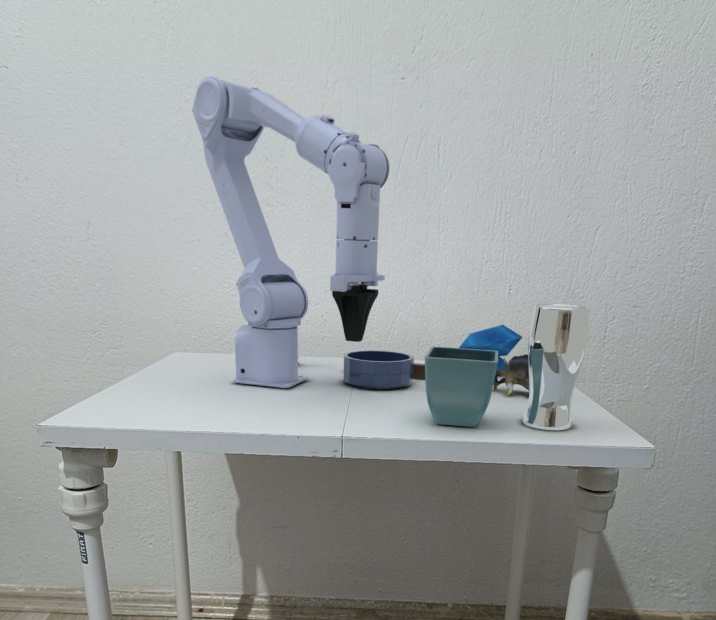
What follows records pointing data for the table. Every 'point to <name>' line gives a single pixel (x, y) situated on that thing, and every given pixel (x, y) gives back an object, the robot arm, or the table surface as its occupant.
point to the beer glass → (554, 363)
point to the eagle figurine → (514, 373)
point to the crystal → (493, 342)
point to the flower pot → (459, 384)
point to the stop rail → (419, 371)
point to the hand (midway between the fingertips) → (353, 340)
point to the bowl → (378, 369)
